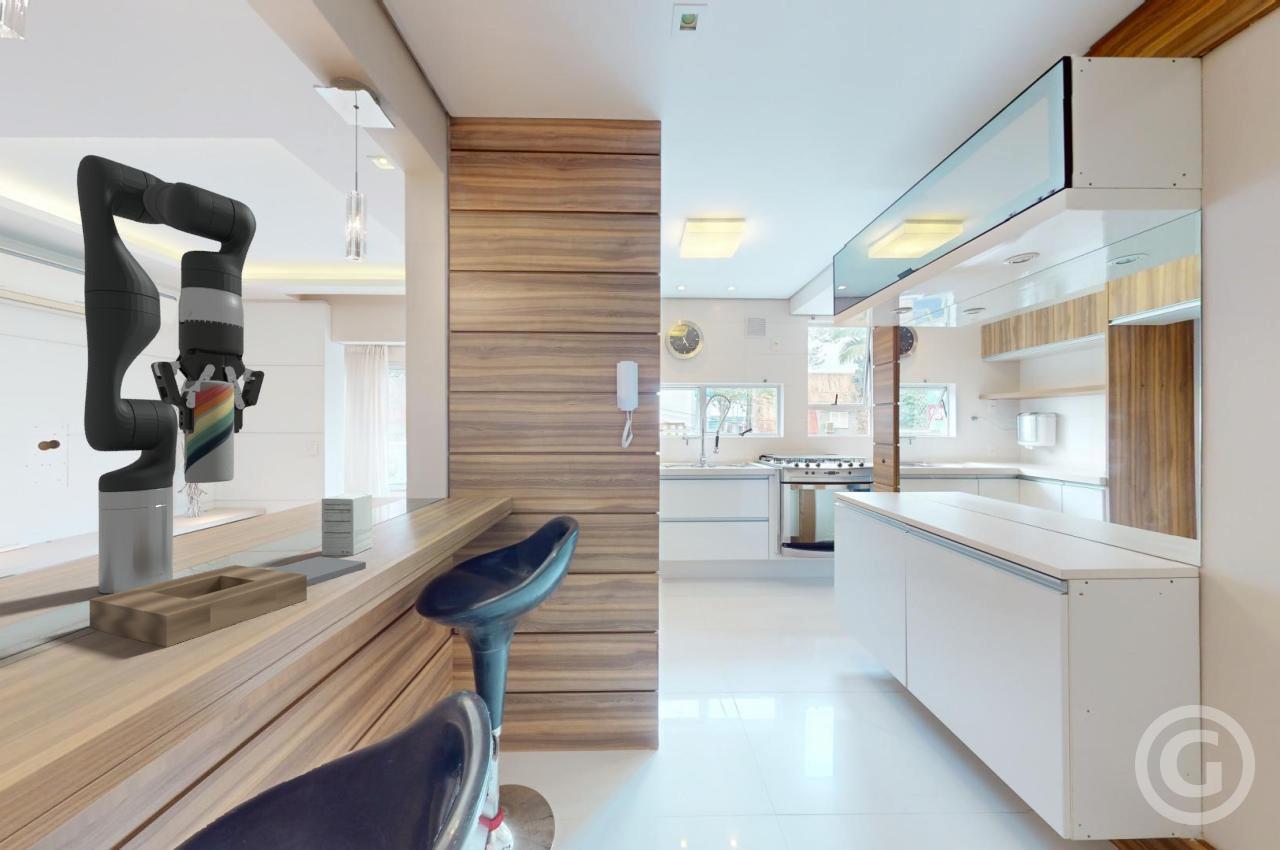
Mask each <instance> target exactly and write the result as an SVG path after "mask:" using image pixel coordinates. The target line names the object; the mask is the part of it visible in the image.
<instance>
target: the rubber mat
mask: <svg viewBox="0 0 1280 850" xmlns="http://www.w3.org/2000/svg"><path fill="white" fill-rule="evenodd" d="M366 562H367V561H361V560H360V561H359V560H353V559H344V558H336V557H335V558H334V557H327V556H326V557H325V556H316V557H312V558H308V559H304V560H301V561H296V562H293V563H289V564H286V565H282V566H278V567H274V568H270V569H268V570H274V571H281V572H288V573H295V574H302V575H307V587H309V586H313V584H314V585H316V583H317V584H319V582H320V583H322V581H323V582H326V581H329V580H333V579H335V577H336V578H338V577H342V576H346V575H347V574H348V575H349V574H351V573H354V572H358V571H360V570H361V571H362V570H364V569H366V567H367V565H366V564H367V563H366ZM332 578H333V579H332ZM325 580H326V581H325Z"/></svg>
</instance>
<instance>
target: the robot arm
mask: <svg viewBox="0 0 1280 850" xmlns="http://www.w3.org/2000/svg"><path fill="white" fill-rule="evenodd" d="M76 173H77V174H76V188H77V198H78V207H79V212H80V220H81V229H82V236H83V245H84V246H83V247H84V250H83V251H84V285H83V286H84V315H85V328H86V329H85V330H86V346H87V372H86V385H85V400H84V401H85V402H84V411H83V413H84V417H83V427H84V429H83V430H84V435H85V440H86V442H87V444H88V445H89V447H91V448H92V450H94V451H97V452H129V451H130V452H133V451H136V452H137V451H138V452H139V451H141V453H140V456H139V457H138V459H136V460H134V461H133V462H132V463H130V464H128V465H126V466H124V467H121V468H118V469H115V470H111V471H108V472H106V473H103V474H101V475H100V476H99V479H98V489H97V490H98V493H97V495H98V593H100V592H101V594H114V593H118V592H123V591H127V590H131V589H135V588H139V587H144V586H148V585H152V584H156V583H161V582H165V581H169V580H172V579H174V475H175V471H176V464H177V463H176V461H177V458H176V457H177V445H178V443H177V442H178V427H179V430H180V431H182V433H183V435H184V434H186V430H188V434H192V433H193V432H194V409H191V408H194V407H195V393H197V392H199V391H200V383H201V381H209V380H210V378H211V376H212V375H213V373H214V371H215V367H214V366H213V365H210V364H209V365H205V364H204V354H205V353H208V352H215V353H222V354H224V355H225V356H226V367H224V374H225V378H226V380H221V381H224V382H228V383H232V384H233V386H234V434H239V433H240V430H242V428H243V427H244V423H243V421H244V420H243V418H244V414H243V412H244V410H245V409H246V408H249V407H252V406H254V407H255V406H256V405H257V404H258V400H259V398H260V397H259V396H260V393H261V389H262V386H263V381H264V378H265V373H264V371H263V370H254V369H251V368H247V367H246V365H245V364H244V362H243V355H244V354H245V353H244V352H245V351H244V350H245V349H244V347H245V345H244V343H245V341H244V339H245V338H244V333H245V326H244V325H245V319H244V318H245V315H244V314H245V313H244V312H245V311H244V306H243V299H242V298H243V297H242V296H243V288H242V287H243V286H242V285H243V281H242V279H243V275H242V274H243V270H244V265H245V262H246V258H247V255H248V252H249V250H250V247H251V244H252V242H253V240H254V238H255V233H256V230H257V221H256V217H255V214H254V213H253V210H252V209H251V208H250V207H249V206H248V205H247V204H245V203H244V202H242V201H239V200H236V199H234V198H231V197H229V196H225V195H222V194H220V193H216V192H214V191H211V190H208V189H206V188H203V187H199V186H197V185H193V184H191V183H186V182H179V181H178V182H167V181H164V180H163V179H161V178H159V177H157V176H156V175H153V174H151V173H150V172H147V171H144V170H142V169H138V168H136V167H132V166H130V165H127V164H124V163H121V162H118V161H115V160H112V159H109V158H106V157H102V156H99V155H94V154H88V155H85V156H83V157H82V158H81V159H80V161H79V164H78V167H77V172H76ZM115 217H117V218H121V219H124V220H125V219H126V220H128V221H129V220H130V221H133V222H136V223H141V224H146V225H165V226H167V227H169V228H172V229H174V230H177V231H180V232H183V233H186V234H190V235H193V236H197V237H201V238H204V239H208V240H211V241H214V242H215V241H216V242H219V243H220V249H219V250H218V251H211V250H188V251H186V252H184V253H183V254H182V257H181V260H180V295H179V299H178V350H179V354H178V357H177V358H176V359H175V361H155V362H152V363H151V364H150V368H151V372H152V374H153V379H154V381H155V385H156V388H157V391H158V394H159V398H160V399H144V398H143V399H141V398H122V397H121V396H122V395H121V391H122V384H123V380H124V377H125V374H126V372H127V371H128V369H129V368H130V366H131V365H132V364H133V362H134V361H135V360H136V359H137V358H138V357H139V355H140V354H142V352H143V351H144V350H145V349H146V348H148V346H149V345H150V344H151V343H152V342H153V340H154V339H155V338H156V337H157V335H158V333H159V331H160V330H161V325H162V324H161V323H162V321H161V319H162V318H161V298H160V297H161V296H160V292H159V290H158V288H157V286H156V284H155V282H154V281H153V280H152V278H151V277H150V276H149V274H148V272H146V271H145V269H144V268H143V267H142V266H141V264H140V263H139V261H138V260H137V259H136V258H135V257H134V256H133V254H132V253H131V251H129V249H128V248H127V246H126V244H125V243H124V241H123V239H122V238H121V235H120V234H119V232H118V229H117V226H116V225H117V224H116V222H115ZM178 370H179V372H180V373H181V374H182V376H183V377H184V378H185V379H184V382H183V383H182V386H181V388H180V390H179V385H178V383H177V379H176V376H177V374H178ZM241 377H242V381H243V382H244V383H243V387H242V389H241V387H240V384H239V382H238V380H239V379H240V378H241ZM187 381H196V383H195V385H194V386H192V387H191V388H189V389H186V388H185V382H187ZM187 391H189V394H188V396H187V398H185V392H187ZM174 406H175V407H176V408H177V409H178V414H177V412H176V409H175V407H174Z"/></svg>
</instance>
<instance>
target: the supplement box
mask: <svg viewBox="0 0 1280 850" xmlns="http://www.w3.org/2000/svg"><path fill="white" fill-rule="evenodd" d="M371 548H373V494H372V493H341V494H337V495H332V496H328V497H323V498H321V555H322V554H323V555H322V556H342V555H351V556H356V554H359V553H361V552H364V551H367V550H370V549H371Z"/></svg>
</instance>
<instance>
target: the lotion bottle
mask: <svg viewBox="0 0 1280 850" xmlns="http://www.w3.org/2000/svg"><path fill="white" fill-rule="evenodd" d="M204 364H205V365H209V364H210V365H213V366H214V367H215V371H214V373H213V375H212V376H211V378H210V380H209V381H201V383H200V391H199V392H197V393H195V407H194V408H191V409H194V432H193V433H192V434H188V430H186V434H184V433H183V435H184V436H183V437H184V438H183V439H184V442H183V443H184V445H183V447H184V448H183V449H184V450H183V452H184V455H183V458H184V459H183V460H184V463H183V465H184V466H183V467H184V468H183V469H184V470H183V471H184V472H183V473H184V478H183V479H184V482H185V483H186V484H187V483H188V484H206V483H221V482H230V481H233V480H234V476H235V433H234V386H233V384H232V383H228V382H224V381H221V380H226V378H225V374H224V367H226V356H225V355H224V354H222V353H215V352H208V353H205V354H204ZM195 383H196V381H187V382H185V388H186V389H189V388H191V387H192V386H194V385H195ZM188 394H189V391H187V392H185V398H187V396H188Z"/></svg>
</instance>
